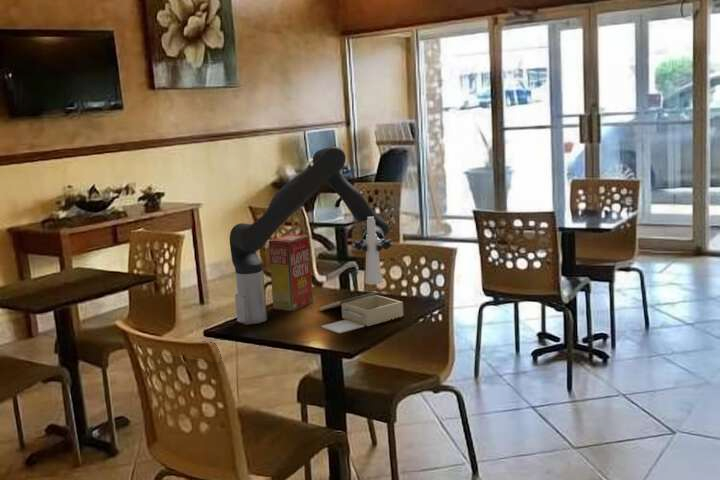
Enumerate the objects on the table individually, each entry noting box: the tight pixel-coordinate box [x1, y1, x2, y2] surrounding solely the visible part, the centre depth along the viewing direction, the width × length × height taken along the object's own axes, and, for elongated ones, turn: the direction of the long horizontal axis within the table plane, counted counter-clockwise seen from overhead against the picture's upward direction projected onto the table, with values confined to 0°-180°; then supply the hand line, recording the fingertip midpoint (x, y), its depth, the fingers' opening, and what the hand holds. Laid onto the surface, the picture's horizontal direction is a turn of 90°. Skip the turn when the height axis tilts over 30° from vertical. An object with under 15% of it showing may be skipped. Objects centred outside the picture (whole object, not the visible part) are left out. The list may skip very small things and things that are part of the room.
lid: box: [319, 292, 374, 311], centre depth 271 cm, size 15×13×1 cm
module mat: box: [320, 319, 366, 334], centre depth 251 cm, size 10×10×1 cm
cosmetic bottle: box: [364, 217, 384, 286], centre depth 256 cm, size 6×6×22 cm
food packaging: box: [268, 233, 314, 312], centre depth 278 cm, size 13×9×25 cm
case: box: [339, 292, 404, 327], centre depth 259 cm, size 16×15×6 cm
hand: (371, 248), depth 253 cm, fingers closed on cosmetic bottle, 4 cm apart
